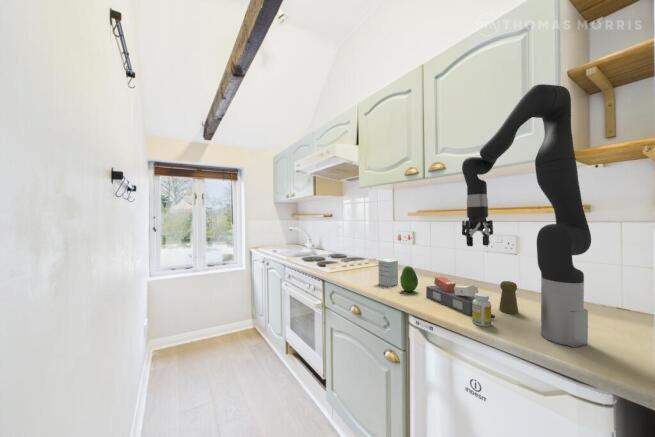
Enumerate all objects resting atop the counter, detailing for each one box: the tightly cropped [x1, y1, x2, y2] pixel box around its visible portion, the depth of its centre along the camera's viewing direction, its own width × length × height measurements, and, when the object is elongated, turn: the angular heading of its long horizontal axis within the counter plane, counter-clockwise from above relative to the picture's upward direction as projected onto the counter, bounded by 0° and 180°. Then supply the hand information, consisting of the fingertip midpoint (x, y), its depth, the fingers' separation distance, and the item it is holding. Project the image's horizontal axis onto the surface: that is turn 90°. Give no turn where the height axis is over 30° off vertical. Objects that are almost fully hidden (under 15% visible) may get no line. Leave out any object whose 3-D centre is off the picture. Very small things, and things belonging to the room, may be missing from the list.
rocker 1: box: [433, 276, 457, 291], centre depth 111 cm, size 7×5×3 cm
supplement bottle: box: [471, 292, 492, 327], centre depth 88 cm, size 5×5×10 cm
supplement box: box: [377, 258, 399, 287], centre depth 138 cm, size 7×7×13 cm
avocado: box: [399, 265, 419, 292], centre depth 125 cm, size 8×8×12 cm
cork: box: [498, 280, 519, 315], centre depth 99 cm, size 6×6×11 cm
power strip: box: [425, 284, 496, 320], centre depth 104 cm, size 29×8×5 cm, turn 19°
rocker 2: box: [454, 285, 479, 296], centre depth 101 cm, size 7×5×3 cm
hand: (478, 245), depth 108 cm, fingers open, 8 cm apart
